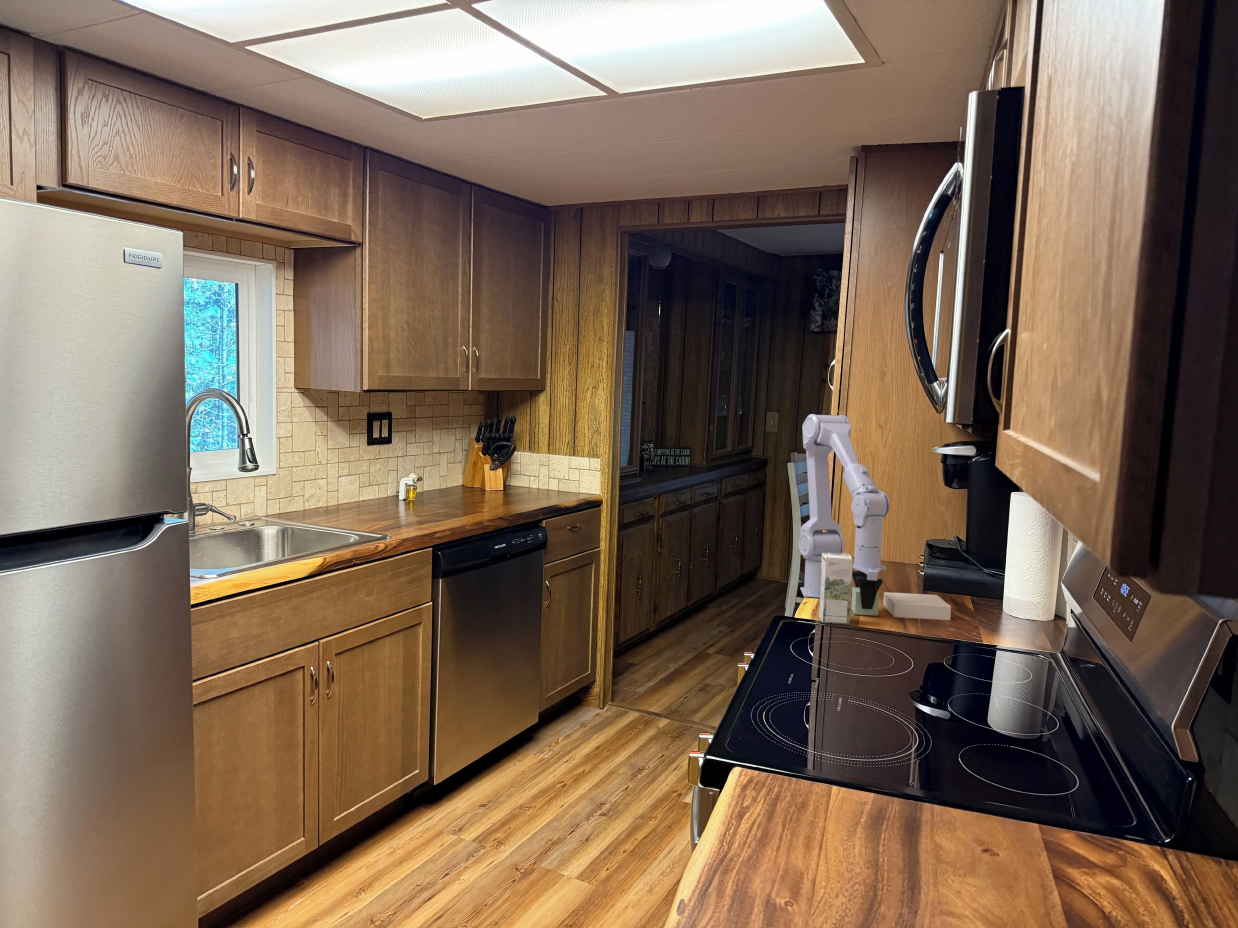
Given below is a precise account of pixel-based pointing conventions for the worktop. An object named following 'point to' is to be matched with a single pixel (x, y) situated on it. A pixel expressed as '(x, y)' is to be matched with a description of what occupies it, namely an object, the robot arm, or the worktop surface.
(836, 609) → the syrup box
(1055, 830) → the worktop surface
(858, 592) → the green cube
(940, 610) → the base block
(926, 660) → the worktop surface
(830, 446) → the robot arm
